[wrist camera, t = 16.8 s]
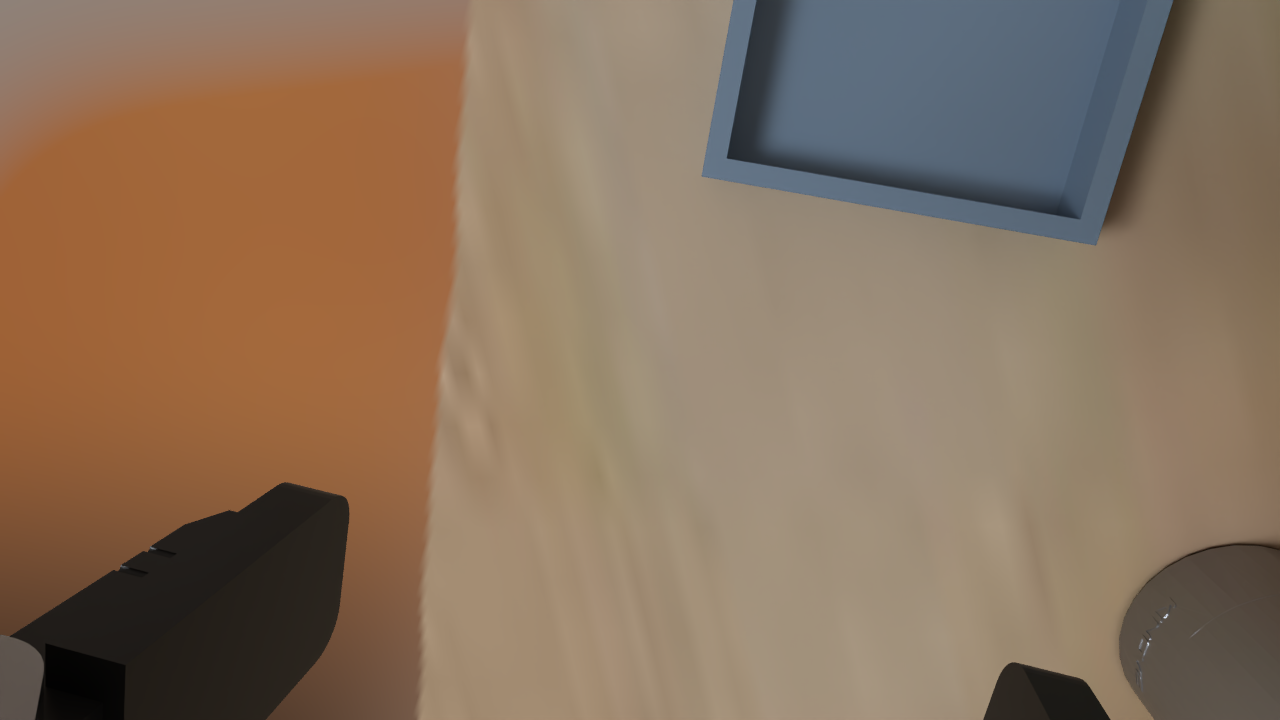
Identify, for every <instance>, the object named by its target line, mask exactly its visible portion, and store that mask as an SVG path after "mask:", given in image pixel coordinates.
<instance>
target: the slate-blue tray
mask: <svg viewBox="0 0 1280 720" xmlns="http://www.w3.org/2000/svg"><path fill="white" fill-rule="evenodd" d="M1172 3H1173V0H734V1H733V6H732V12H731V17H730V23H729V28H728V34H727V39H726V45H725V50H724V56H723V61H722V67H721V72H720V78H719V83H718V89H717V94H716V100H715V106H714V111H713V117H712V122H711V128H710V133H709V139H708V144H707V150H706V155H705V161H704V166H703V172H702V177H708V178H714V179H719V180H725V181H731V182H737V183H742V184H748V185H754V186H759V187H765V188H771V189H777V190H782V191H788V192H794V193H799V194H805V195H811V196H817V197H822V198H828V199H834V200H839V201H845V202H851V203H857V204H862V205H868V206H874V207H879V208H885V209H891V210H897V211H902V212H908V213H914V214H919V215H925V216H931V217H936V218H942V219H948V220H954V221H959V222H965V223H971V224H976V225H982V226H988V227H994V228H999V229H1005V230H1011V231H1016V232H1022V233H1028V234H1034V235H1039V236H1045V237H1051V238H1056V239H1062V240H1068V241H1074V242H1079V243H1085V244H1091V245H1096V244H1097V241H1098V238H1099V235H1100V231H1101V228H1102V225H1103V222H1104V219H1105V216H1106V212H1107V209H1108V206H1109V203H1110V200H1111V197H1112V193H1113V190H1114V187H1115V184H1116V181H1117V177H1118V174H1119V171H1120V168H1121V165H1122V162H1123V158H1124V155H1125V152H1126V149H1127V146H1128V143H1129V139H1130V136H1131V133H1132V130H1133V127H1134V124H1135V120H1136V117H1137V114H1138V111H1139V108H1140V105H1141V101H1142V98H1143V95H1144V92H1145V89H1146V85H1147V82H1148V79H1149V76H1150V73H1151V70H1152V66H1153V63H1154V60H1155V57H1156V54H1157V51H1158V47H1159V44H1160V41H1161V38H1162V35H1163V32H1164V28H1165V25H1166V22H1167V19H1168V16H1169V13H1170V9H1171V6H1172Z"/></svg>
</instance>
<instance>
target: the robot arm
mask: <svg viewBox="0 0 1280 720" xmlns="http://www.w3.org/2000/svg"><path fill="white" fill-rule="evenodd" d="M348 524H349V505H348V502H347V499H346V498H345V497H343V496H341V495H337V494H332V493H328V492H324V491H320V490H316V489H312V488H308V487H304V486H300V485H296V484H292V483H286V482H285V483H281V484H279V485H277V486H276V487H274V488H273V489H271V490H270V491H268V492H267V493H265V494H264V495H263V496H261V497H260V498H258V499H257V500H256V501H254V502H252V503H251V504H249V505H248V506H247V507H245V508H243V509H242V510H240V511H239V512H234V511H230V510H229V511H226V512H223V513H219V514H216V515H213V516H210V517H207V518H204V519H201V520H198V521H195V522H191V523H188V524H185V525H183V526H182V527H180V528H179V529H177V530H176V531H174V532H172V533H171V534H169V535H168V536H166V537H165V538H163V539H161V540H160V541H158V542H157V543H155V544H154V545H152V546H150V550H149V551H148V552H145V551H143V552H141V553H140V554H138V555H136V556H135V557H133V558H132V559H130V560H129V561H127V562H126V563H124V564H122V565H121V567H120V570H119V571H115V570H113V571H111V572H110V573H108V574H107V575H105V576H104V577H102V578H100V579H99V580H97V581H96V582H94V583H92V584H91V585H89V586H88V587H87V588H85V589H83V590H81V591H80V592H78V593H77V594H75V595H74V596H72V597H71V598H69V599H67V600H66V601H64V602H63V603H61V604H60V605H58V606H56V607H55V608H53V609H52V610H50V611H49V612H47V613H45V614H44V615H42V616H41V617H39V618H38V619H36V620H35V621H33V622H32V623H30V624H28V625H27V626H25V627H24V628H22V629H20V630H19V631H17V632H16V633H14V634H13V635H11V636H9V637H8V636H4V635H0V720H266V719H267V718H268V716H269V715H270V714H271V713H272V712H273V711H274V709H275V708H276V707H277V706H278V705H279V704H280V703H281V701H282V700H283V699H284V698H285V697H286V696H287V695H288V693H289V692H290V691H291V690H292V689H293V688H294V687H295V686H296V684H297V683H298V682H299V681H300V680H301V679H302V678H303V676H304V675H305V674H306V673H307V672H308V671H309V669H310V668H311V667H312V666H313V665H314V664H315V662H316V661H317V660H318V659H319V657H320V656H321V655H322V653H323V651H324V650H325V648H326V646H327V644H328V642H329V640H330V638H331V635H332V633H333V630H334V627H335V624H336V621H337V616H338V613H339V606H340V598H341V587H342V579H343V570H344V561H345V552H346V542H347V533H348ZM1119 649H1120V660H1121V664H1122V667H1123V671H1124V674H1125V676H1126V678H1127V680H1128V682H1129V683H1130V685H1131V687H1132V688H1133V690H1134V692H1135V693H1136V695H1137V696H1138V697H1139V699H1140V700H1141V702H1142V703H1143V704H1144V706H1145V707H1146V709H1147V710H1148V711H1149V713H1150V714H1151V716H1152V717H1153V718H1154V720H1280V550H1277V549H1272V548H1267V547H1263V546H1244V545H1233V546H1227V547H1220V548H1213V549H1209V550H1206V551H1203V552H1200V553H1197V554H1194V555H1191V556H1188V557H1185V558H1183V559H1182V560H1180V561H1178V562H1176V563H1174V564H1172V565H1171V566H1169V567H1167V568H1165V569H1164V570H1163V571H1161V572H1160V573H1159V574H1158V575H1157V576H1155V577H1154V578H1153V579H1152V580H1150V581H1149V582H1148V583H1147V584H1146V585H1145V586H1144V588H1143V589H1142V590H1141V591H1140V592H1139V594H1138V595H1137V596H1136V597H1135V599H1134V600H1133V602H1132V604H1131V606H1130V608H1129V609H1128V611H1127V613H1126V615H1125V617H1124V620H1123V624H1122V629H1121V633H1120V637H1119ZM983 720H1110V718H1109V717H1108V715H1107V714H1106V712H1105V710H1104V709H1103V707H1102V706H1101V704H1100V703H1099V701H1098V699H1097V698H1096V696H1095V695H1094V693H1093V692H1092V690H1091V688H1090V687H1089V686H1088V684H1087V683H1086V682H1085V681H1084V680H1082V679H1080V678H1077V677H1072V676H1068V675H1064V674H1060V673H1056V672H1052V671H1048V670H1044V669H1040V668H1036V667H1032V666H1028V665H1024V664H1019V663H1010V664H1008V665H1007V666H1006V667H1005V668H1004V669H1003V670H1002V672H1001V674H1000V676H999V678H998V680H997V683H996V686H995V689H994V691H993V694H992V697H991V700H990V703H989V705H988V708H987V711H986V714H985V717H984V719H983Z"/></svg>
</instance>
